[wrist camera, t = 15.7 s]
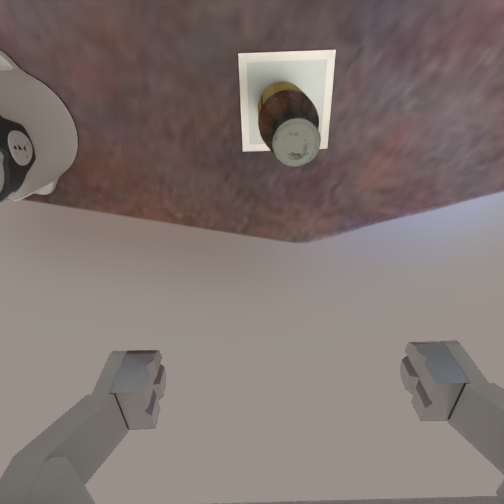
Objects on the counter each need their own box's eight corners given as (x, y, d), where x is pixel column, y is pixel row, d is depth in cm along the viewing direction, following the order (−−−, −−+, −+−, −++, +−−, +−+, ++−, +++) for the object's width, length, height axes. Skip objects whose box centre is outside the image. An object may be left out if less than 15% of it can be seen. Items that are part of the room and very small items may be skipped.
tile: (242, 150, 48) (242, 151, 47) (238, 53, 42) (238, 53, 41) (326, 147, 48) (327, 148, 47) (334, 49, 42) (335, 49, 41)
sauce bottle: (287, 139, 46) (300, 199, 30) (249, 114, 45) (240, 162, 28) (316, 95, 43) (349, 135, 27) (276, 66, 42) (285, 90, 25)
